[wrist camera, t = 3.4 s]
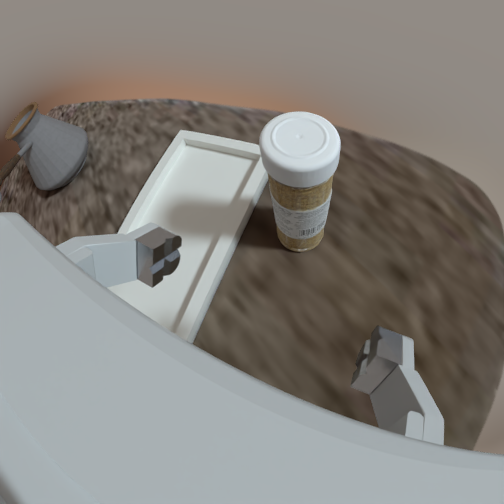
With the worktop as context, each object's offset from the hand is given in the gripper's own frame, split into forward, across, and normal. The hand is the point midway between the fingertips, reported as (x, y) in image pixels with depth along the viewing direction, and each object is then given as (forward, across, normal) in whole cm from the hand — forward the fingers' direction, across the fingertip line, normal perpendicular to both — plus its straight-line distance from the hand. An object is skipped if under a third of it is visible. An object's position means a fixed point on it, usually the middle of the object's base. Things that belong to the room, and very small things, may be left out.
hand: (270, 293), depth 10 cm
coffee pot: (+13, +35, +9) cm, 38 cm away
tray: (+13, +13, +8) cm, 20 cm away
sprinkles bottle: (+17, +2, +5) cm, 17 cm away
